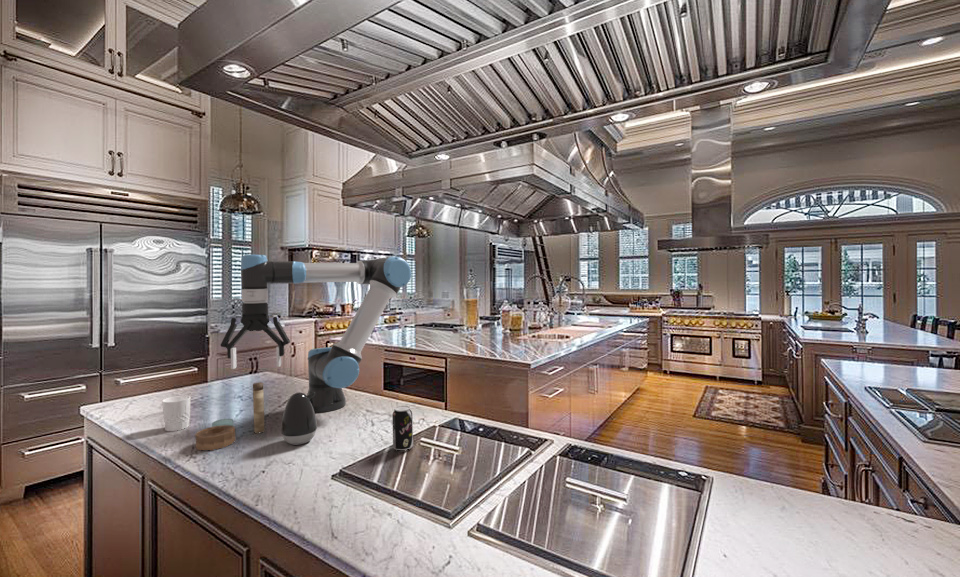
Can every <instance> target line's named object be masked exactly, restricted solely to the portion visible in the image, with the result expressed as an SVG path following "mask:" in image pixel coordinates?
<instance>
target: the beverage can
mask: <svg viewBox="0 0 960 577" xmlns="http://www.w3.org/2000/svg"><path fill="white" fill-rule="evenodd" d="M391 415H392V418H391V419H392V447H393V450H396V451H397V450H407V449H409V450H410V449H412V447H413V446H414V434H413V433H414V432H413V431H414V429H413V424H414V423H413V412H412V410H411V407H410V406H408V405H399V406H396V407H394V410H393V412H392V414H391ZM407 451H408V450H407Z"/></svg>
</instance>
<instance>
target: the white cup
mask: <svg viewBox="0 0 960 577" xmlns="http://www.w3.org/2000/svg"><path fill="white" fill-rule="evenodd" d="M161 406H162V415H163V423H164V430H165V431H166V432H176V431H177V430H178V431H181V429H182V430H185V429H187V428H189V427H190V419H191V396H190V395H176V396H172V397H167V398H164V399H162V400H161ZM188 426H189V427H188ZM184 428H185V429H184Z"/></svg>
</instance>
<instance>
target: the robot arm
mask: <svg viewBox="0 0 960 577" xmlns="http://www.w3.org/2000/svg"><path fill="white" fill-rule="evenodd" d="M240 260H241V261H240V263H241V264H240V277H241V279H240V280H241V302H243V303H242V304H241V316H242V317H231V320H230V326H229V327H228V329H227V330H226V332H225V335H224V337H223V339H222V341H221V342H220V347H221V348H225V349H226V350H227V351H226V352H227V359H230V370H235V369H236V368H237V366H238V364H237V363H238V362H237V361H238V360H237V347H234V346H235V345H236V344H237V343H238V342H239V341H240V340H241V339H242V337H244V335H245V334H246V333H247V332H248V331H249V332H254V331H255V332H261V331H263V332H264V333H265V334H267V335H268V336H269V337H270V339H272V341H274V342H275V344H276V345H277V346H276V348H275V353H276V354H275V355H276V358H275V359H276V368H280V367H281V366H282V357H284V355H285V346H286V345H289V344H290V343H291V340H290V338H289V337H288V335H287V332H286V331H285V330H284V327H283V326H282V324H281V322H280V317H279V316H278V315H276V316H273V317H269V316H270V315H269V303H268V300H269V295H268V294H269V292H268V290H269V289H268V285H269V284H271V285H273V284H275V285H277V284H285V285H286V284H294V285H296V284H306V283H307V284H308V283H315V284H317V283H357V284H358V285H370V288H369V289H368V291H367V293H366V295H365V296H364V299H362V302H361V304H360V305H359V307H358V309H357V310H356V312H355V314H354V316H353V318H352V320H351V322H350V323H349V325H348V327H347V329H346V330H345V332H344V334H343V335H342V338H341V339H340V341H339V342H337V343H333V345H332V346H329V347H319V348H312V349H309V351H308V352H307V354H308V355H307V365H308V367H307V368H308V390H307V394H306V396H307V395H309V394H310V393H312V392H315V395H314V396H313V397H311V398H310V399H309V400H310V402H311V404H312V406H313V409H314V412H315V413H321V412H322V413H323V412H331V411H336V410H339V409H341V408H343V407H345V406H346V402H347V401H346V396H345V393H344V390H343V389H344V388H348V387H350V386H351V385H353V384H354V383H355V382H356V381H357V379H358V377H359V374H360V364H361V361H362V359H363V357H362V354H361V353H362V351H363V350H364V347H365V345H366V343H367V342H368V340H369V338H370V336H371V335H372V333H373V331H374V329H375V327H376V325H377V323H378V321H379V320H380V318H381V316H382V314H383V312H384V310H385V308H386V307H387V305H388V303H389V301H390V299H391V298H393V297H396V296H397V295H398V293H399V291H400V289H401V288H402V287H405V286H407V285H408V283H409V282H410V280H411V278H412V270H411V266H410V264H409V263H408V261H406V260H405V259H404V258H402V257H399V256H390V257H379V258H375V259H370V260H369V259H368V260H358V261H357V262H355V263H354V262H302V261H295V260H293V261H282V260H281V261H280V260H279V261H271V260H268V258H267V255H266V254H243V256H242V257H241V259H240ZM270 322H271V324H273V326H274V327H275V329H276V331H277V333H278V335H279V336H280V337H279V336H278V335H277V334H276V332H275V331H273V330H272V328H271V327H270V326H269V323H270ZM240 323H241V324H242V325H243V327H242V328H241V329H240V330H239V331H238V333H236V335H235V336H234V337H233V338H232V336H233V334H234V333H235V330H236V329H237V326H238V325H239V324H240ZM231 338H232V339H231Z"/></svg>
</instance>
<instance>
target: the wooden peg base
mask: <svg viewBox="0 0 960 577" xmlns="http://www.w3.org/2000/svg"><path fill="white" fill-rule="evenodd" d="M194 436H195V448H196V450H197V451H201V450H210V451H215V450H214V449H217V450H220V449H219V448H221V449H224V448H223V447H225V448H227V447H229V446H231V445H230V444H232V443H233V442H234V441H235V442H236V428H235V426H234V425H233V426H229V425H222V426H214V427H212V426H211V427H207V428H203V429H201V430H199V431H197V432H196V433H195V434H194ZM235 442H234V443H235ZM234 443H233V444H234ZM233 444H232V445H233ZM228 445H229V446H228ZM226 446H227V447H226Z"/></svg>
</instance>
